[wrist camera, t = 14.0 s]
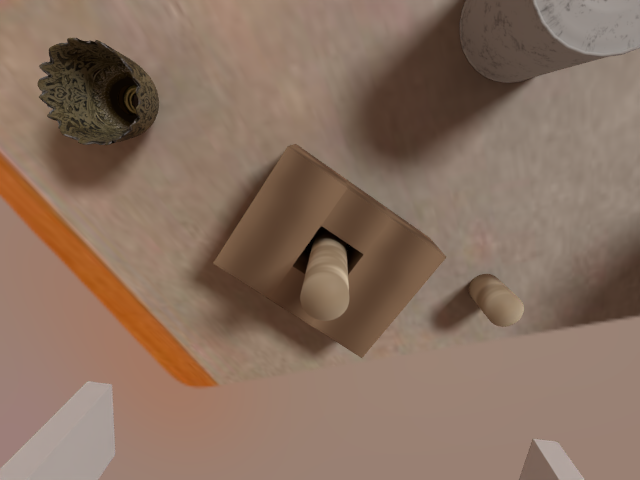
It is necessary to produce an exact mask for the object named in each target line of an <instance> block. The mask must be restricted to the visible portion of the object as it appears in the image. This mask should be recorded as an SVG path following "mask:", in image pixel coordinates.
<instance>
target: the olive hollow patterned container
mask: <svg viewBox="0 0 640 480" xmlns="http://www.w3.org/2000/svg"><path fill="white" fill-rule="evenodd" d="M67 41H68V43H59V44H56V45H54V46H52V47H50V48H49V56H50V62H45V63H42V64H41V65H40V68H41V69H42V71H43V72H45V73H46V72H47V73H48V74H49V75H48V74H47V73H46V74H47V75H48V76H46V77H43V78H41V79H39V81H38V87H39V89H40V90H41V91H42V94H41V95H40V96H39V98H40V99H41V100H42V101H43V102H45V103H46V104H47V106H48V107H50V108H53V110H52V111H50V112H49V114H48V115H47V116H48V117H49V118H51V119H53V120H56V121H58V123H59V126H58V127H59V129H60V131H61V133H62V134H63V135H65V136H67V137H70V138H73V139H75V140H78V143H80V144H99V145H103V144H105V145H109V144H112V143H115V142H119V141H123V140H127V139H130V138H133V137H135V136H138V135H140V134H142V133H143V132H145V131H146V130H147V129H148V128H149V127H150V126H151V125H152V124H153V122H154V121H155V119H156V116H157V113H158V108H159V99H158V94H157V90H156V87H155V85H154V83H153V81H152V80H151V78H150V77H149V75H148V74H147V73H146V72H145V71H144V70H143V69H142V68H141V67H140V66H139V65H137V64H136V63H135V62H133V61H132V60H130V59H129V58H127V57H125V56H124V55H122V54H120V53H119V52H117V51H115V50H114V49H112V48H111V47H109V46H107V45H106V44H104V43H102V42H100V41H98V40H96V41H95V42H93V41H82V40H79V39H78V38H68V39H67ZM135 93H136V95H137V97H138V105H137V107H136V108H135V107H134V106H133V103H132V98H133V96H134V94H135Z"/></svg>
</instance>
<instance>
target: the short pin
mask: <svg viewBox="0 0 640 480" xmlns="http://www.w3.org/2000/svg"><path fill="white" fill-rule="evenodd" d="M469 294H470V296H471V298H472V299H473V300H474V301H475V303H476V304H477V305H478V306H479V307H480V309H481V310H482V311H483V312H484V314H485V315H486V316H487V317H488V319H489V320H490V321H491V322H492V323H493V324H495V325H497V326H501V327H506V326H510V325H513V324H515V323H516V322H517V321H519V319H520V318H521V317H522V315H523V312H524V306H523V303H522V301H521V300H520V299H519V298H518V297H517V296H516V295H515V294H514V293H513V292H512V291H510V290H509V289H508V288H507V287H506V286H505V285H504V284H503V283H502V282H501V281H500V280H499V279H497V278H496V277H495V276H493V275H491V274H482V275H479V276H477V277H475V278H474V279H473V280H472V281H471V283H470V285H469Z"/></svg>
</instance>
